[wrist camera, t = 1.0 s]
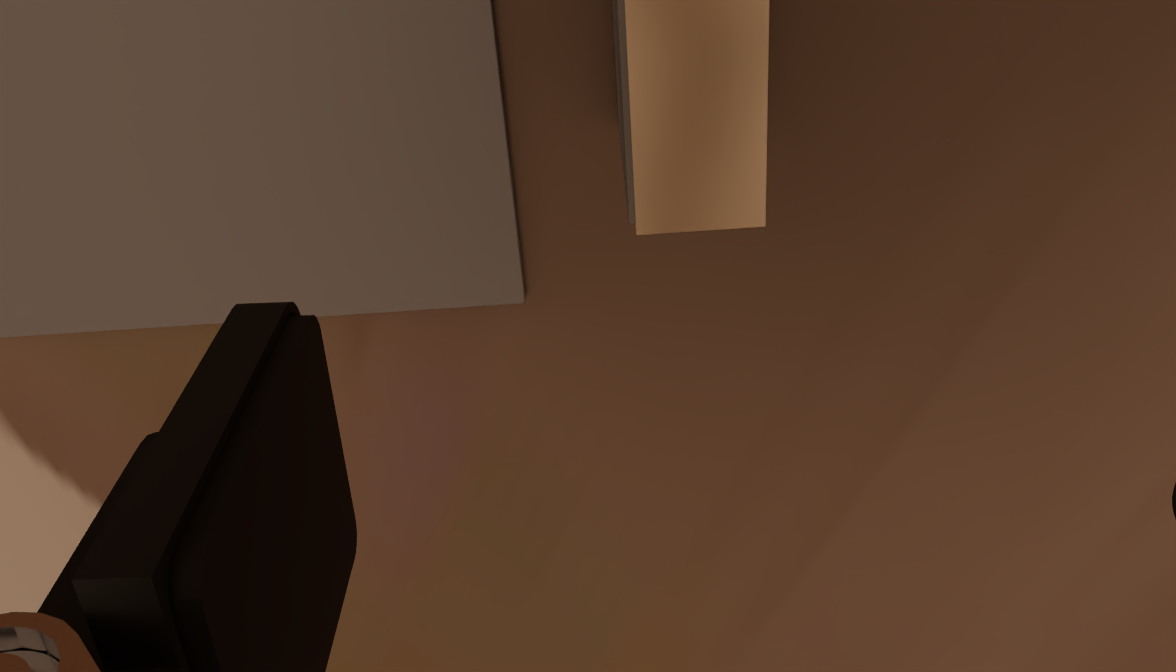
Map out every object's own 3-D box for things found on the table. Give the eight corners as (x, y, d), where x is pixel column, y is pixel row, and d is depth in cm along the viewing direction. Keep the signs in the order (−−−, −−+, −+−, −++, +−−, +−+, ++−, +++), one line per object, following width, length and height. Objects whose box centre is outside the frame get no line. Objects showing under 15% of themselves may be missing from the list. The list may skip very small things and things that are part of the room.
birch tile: (722, -139, 27) (771, -97, 21) (723, 117, 31) (765, 226, 24) (604, -129, 28) (612, -85, 21) (618, 124, 31) (629, 235, 24)
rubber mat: (471, -182, 27) (469, -181, 26) (525, 294, 34) (524, 302, 33) (-206, -129, 27) (-221, -126, 27) (-14, 329, 34) (-23, 339, 34)
